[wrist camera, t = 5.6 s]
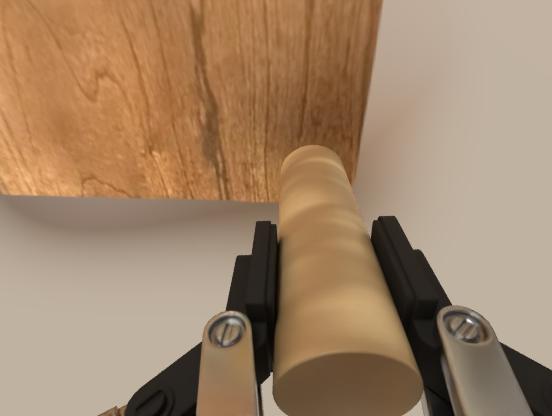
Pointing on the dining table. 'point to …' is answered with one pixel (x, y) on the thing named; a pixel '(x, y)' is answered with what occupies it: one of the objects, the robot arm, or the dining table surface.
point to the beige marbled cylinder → (334, 302)
